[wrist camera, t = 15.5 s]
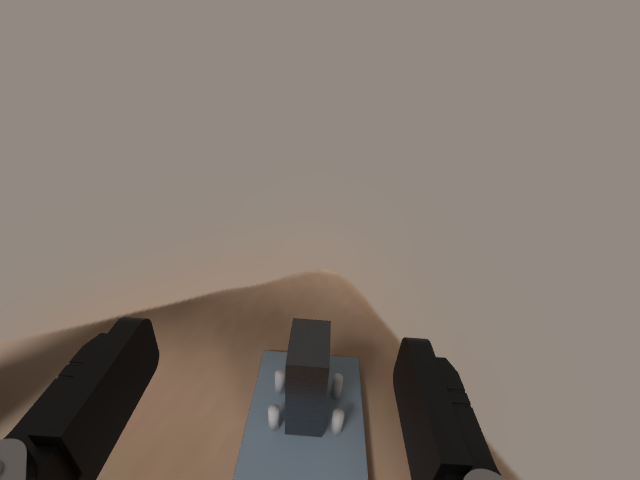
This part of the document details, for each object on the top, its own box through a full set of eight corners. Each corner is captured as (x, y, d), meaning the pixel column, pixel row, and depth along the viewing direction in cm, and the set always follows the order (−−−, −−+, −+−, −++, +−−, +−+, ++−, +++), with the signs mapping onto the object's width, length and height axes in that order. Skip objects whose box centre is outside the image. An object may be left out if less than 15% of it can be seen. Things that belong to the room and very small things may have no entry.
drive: (284, 434, 34) (285, 364, 29) (291, 384, 40) (293, 317, 34) (321, 437, 34) (329, 368, 29) (323, 387, 40) (330, 320, 34)
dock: (232, 492, 31) (228, 468, 29) (263, 358, 45) (263, 334, 43) (367, 502, 31) (374, 479, 29) (357, 364, 45) (361, 341, 43)
